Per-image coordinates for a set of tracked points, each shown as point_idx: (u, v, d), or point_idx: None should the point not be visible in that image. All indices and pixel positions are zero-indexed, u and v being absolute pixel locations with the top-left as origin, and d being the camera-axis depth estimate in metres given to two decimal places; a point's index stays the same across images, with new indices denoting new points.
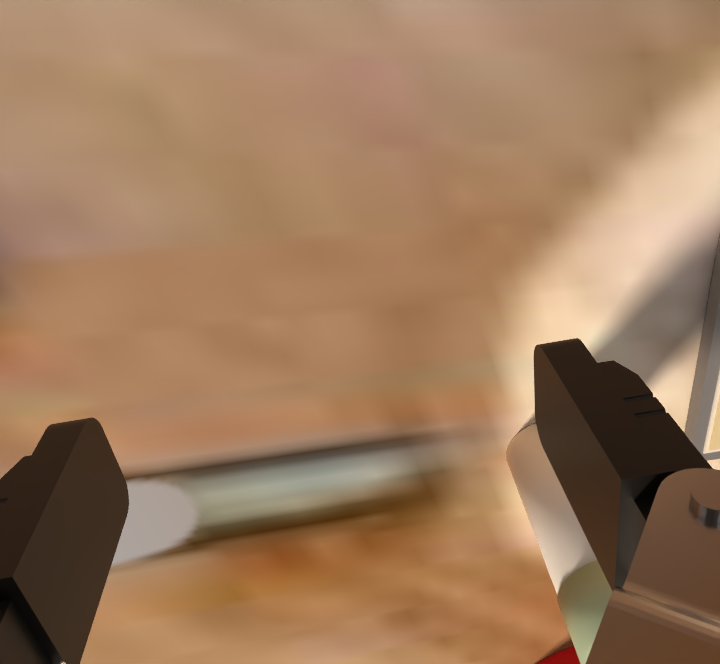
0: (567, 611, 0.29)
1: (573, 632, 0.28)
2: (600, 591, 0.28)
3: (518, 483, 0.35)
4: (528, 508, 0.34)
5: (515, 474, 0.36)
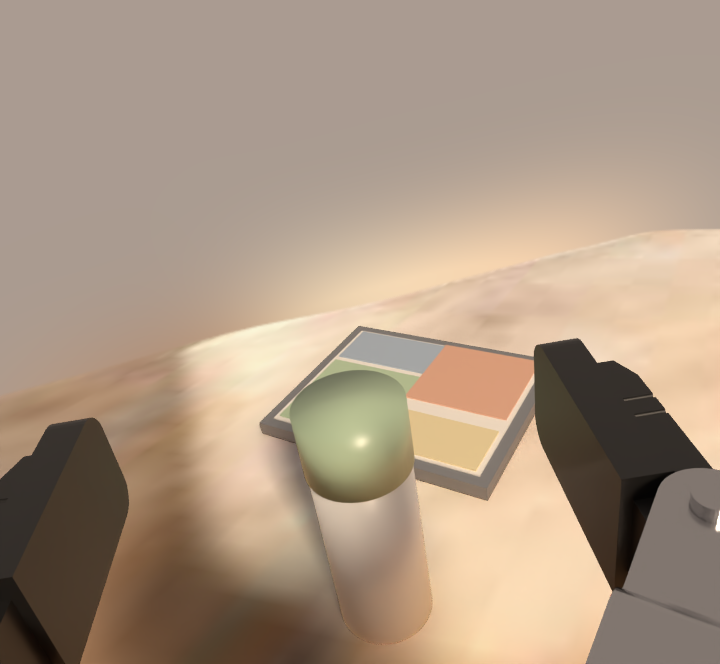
0: (312, 473, 0.25)
1: (312, 458, 0.25)
2: None
3: (350, 604, 0.29)
4: (342, 576, 0.28)
5: (351, 612, 0.30)
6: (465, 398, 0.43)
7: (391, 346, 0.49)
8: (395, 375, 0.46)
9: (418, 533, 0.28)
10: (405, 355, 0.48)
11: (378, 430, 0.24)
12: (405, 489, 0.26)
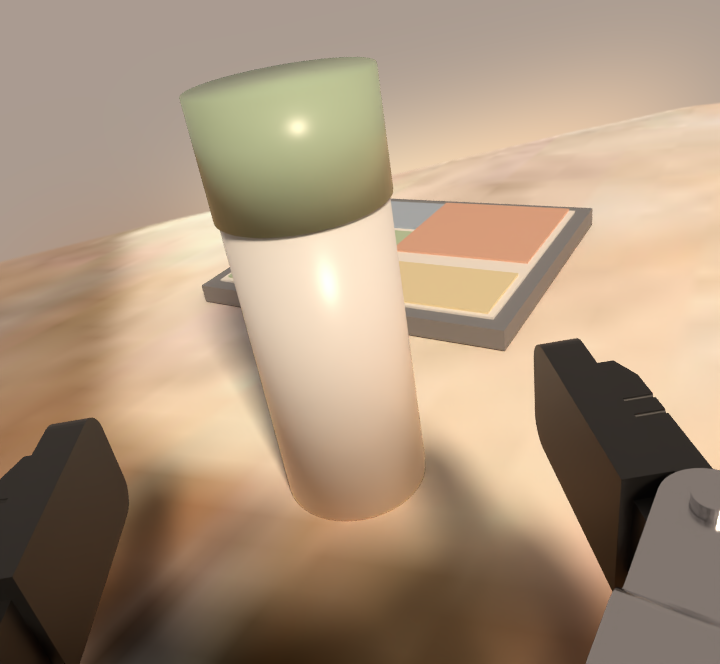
0: (217, 189, 0.15)
1: (213, 152, 0.14)
2: None
3: (296, 453, 0.19)
4: (280, 401, 0.18)
5: (299, 468, 0.19)
6: (472, 246, 0.32)
7: None
8: None
9: (401, 330, 0.18)
10: (394, 214, 0.38)
11: (324, 83, 0.14)
12: (377, 232, 0.16)
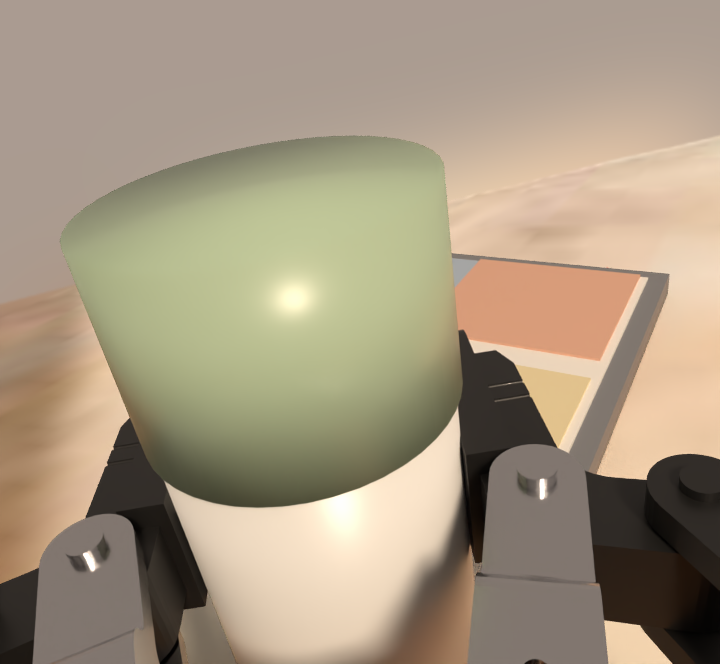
0: (136, 409, 0.08)
1: (122, 354, 0.07)
2: None
3: None
4: None
5: None
6: (521, 329, 0.25)
7: None
8: None
9: (467, 589, 0.10)
10: None
11: (347, 231, 0.06)
12: (439, 466, 0.09)
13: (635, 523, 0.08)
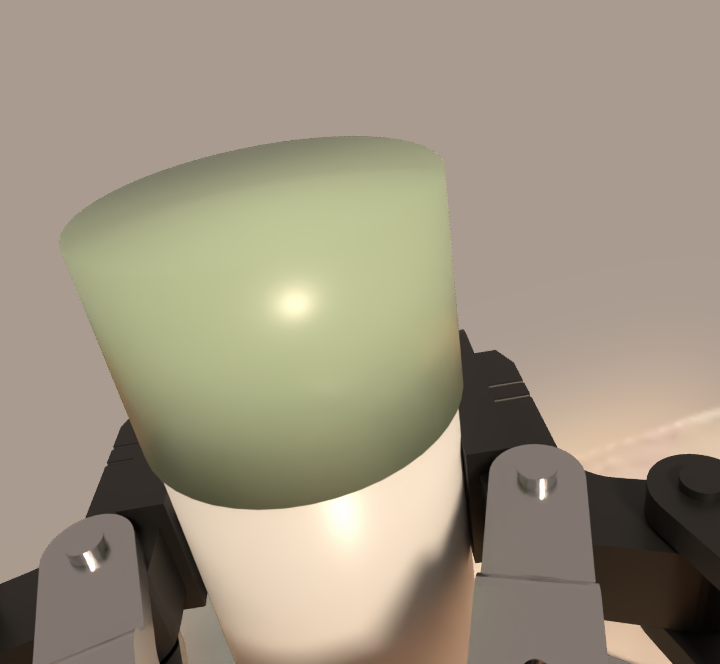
0: (135, 411, 0.08)
1: (121, 356, 0.07)
2: None
3: None
4: None
5: None
6: None
7: None
8: None
9: (468, 591, 0.10)
10: None
11: (347, 233, 0.06)
12: (439, 468, 0.09)
13: (635, 523, 0.08)
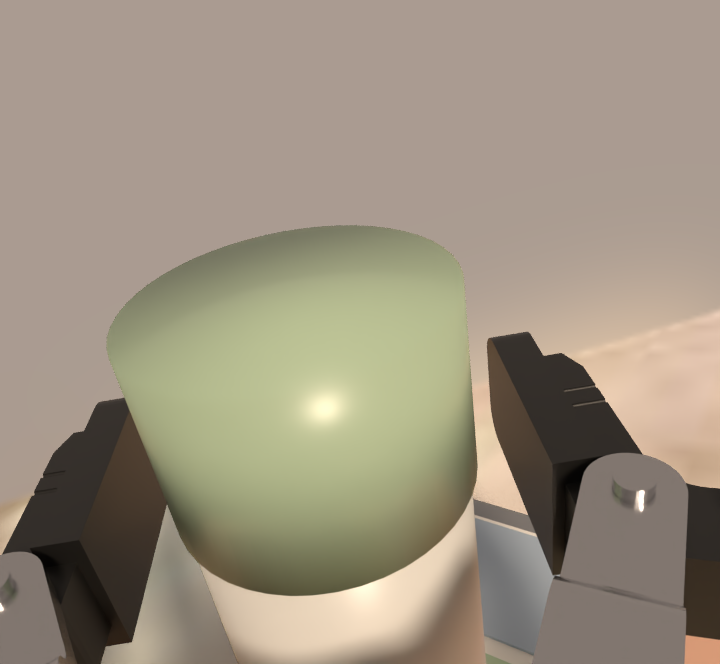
0: (175, 503, 0.08)
1: (166, 458, 0.08)
2: None
3: None
4: None
5: None
6: None
7: (484, 556, 0.19)
8: None
9: (479, 650, 0.11)
10: (529, 595, 0.18)
11: (379, 359, 0.07)
12: (456, 547, 0.09)
13: None
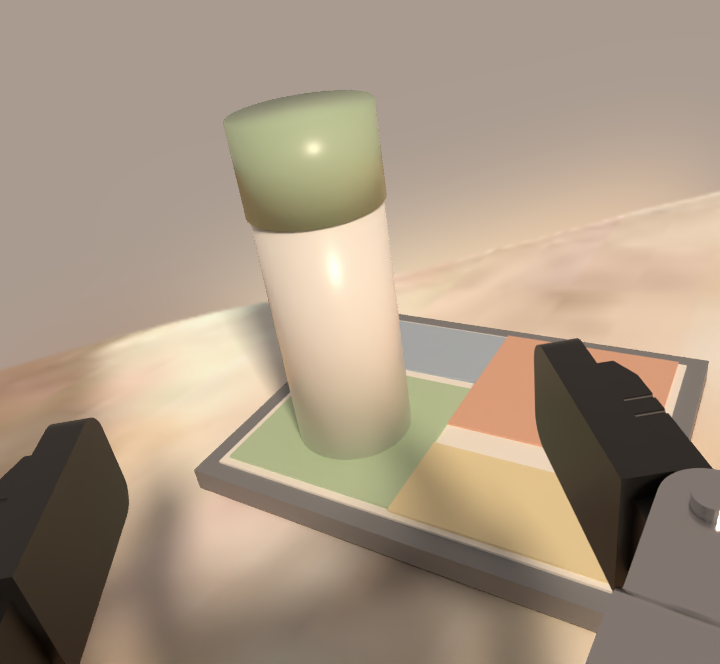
0: (252, 193, 0.20)
1: (251, 166, 0.19)
2: None
3: (308, 404, 0.23)
4: (296, 361, 0.22)
5: (309, 416, 0.24)
6: None
7: (418, 339, 0.31)
8: (428, 386, 0.27)
9: (392, 305, 0.22)
10: (442, 353, 0.29)
11: (336, 116, 0.18)
12: (374, 227, 0.20)
13: None
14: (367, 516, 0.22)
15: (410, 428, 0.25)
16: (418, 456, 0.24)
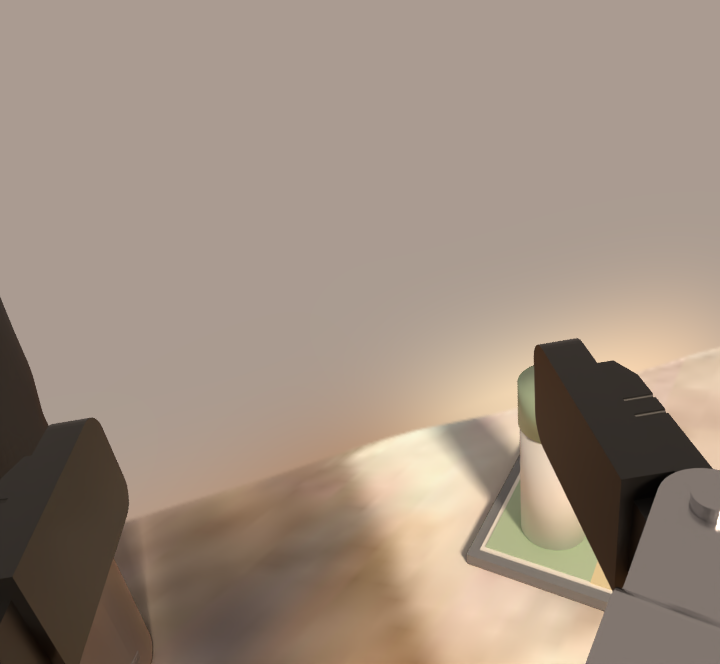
0: (536, 427, 0.39)
1: None
2: (518, 406, 0.41)
3: (540, 521, 0.43)
4: (539, 500, 0.42)
5: (539, 527, 0.43)
6: None
7: None
8: None
9: None
10: None
11: None
12: None
13: None
14: (579, 585, 0.42)
15: None
16: None
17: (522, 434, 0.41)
